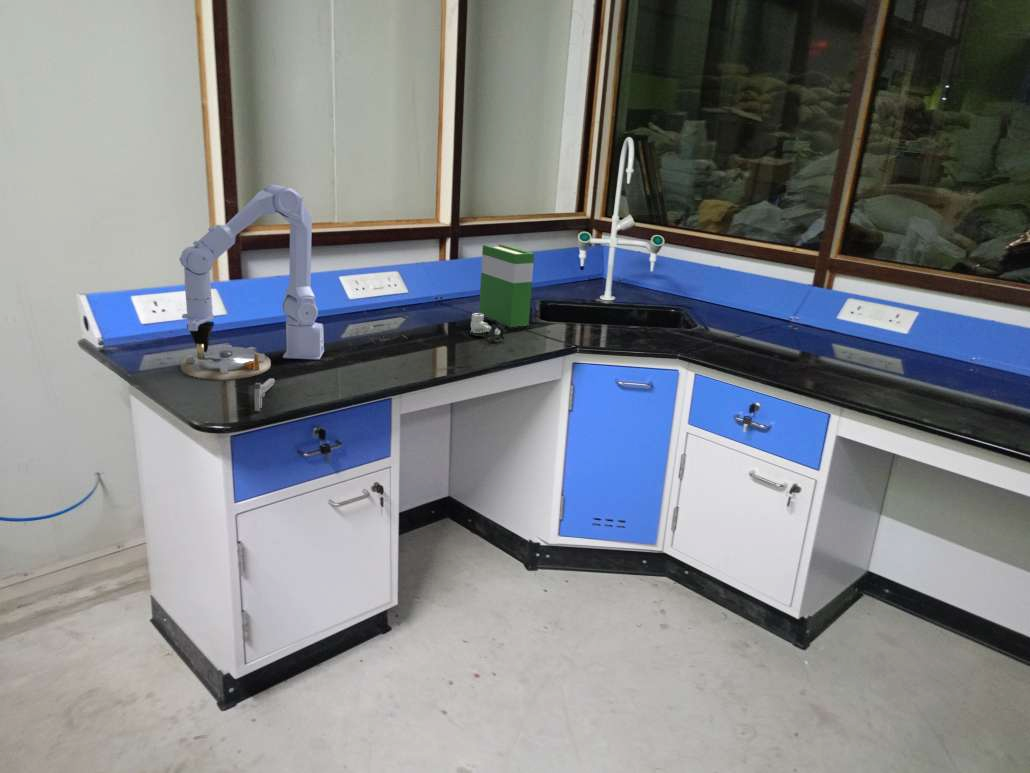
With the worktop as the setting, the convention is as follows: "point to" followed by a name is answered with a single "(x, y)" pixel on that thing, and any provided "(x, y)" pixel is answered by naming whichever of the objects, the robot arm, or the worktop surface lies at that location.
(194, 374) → the mounting board
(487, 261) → the hardback book
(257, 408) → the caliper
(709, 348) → the worktop surface
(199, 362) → the sprocket
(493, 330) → the valve
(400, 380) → the worktop surface
